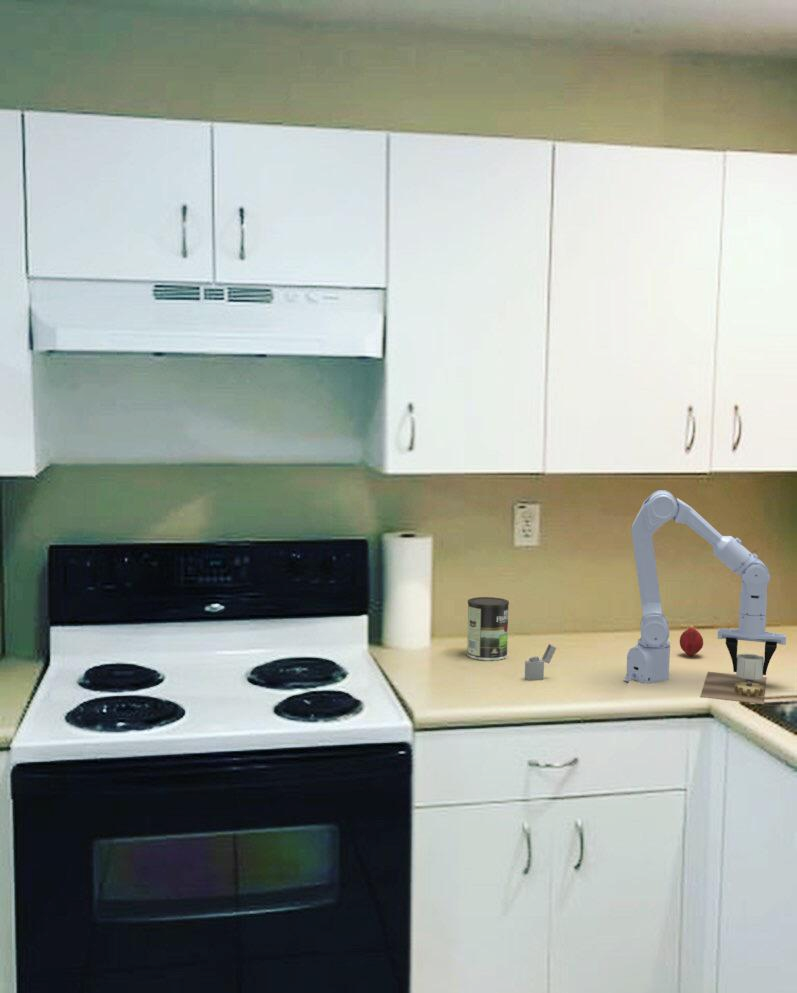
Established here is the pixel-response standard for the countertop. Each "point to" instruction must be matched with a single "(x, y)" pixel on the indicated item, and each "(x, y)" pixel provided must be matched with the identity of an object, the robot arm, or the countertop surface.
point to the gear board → (733, 688)
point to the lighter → (538, 665)
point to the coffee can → (487, 628)
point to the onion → (691, 641)
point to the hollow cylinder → (750, 666)
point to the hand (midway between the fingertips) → (749, 672)
